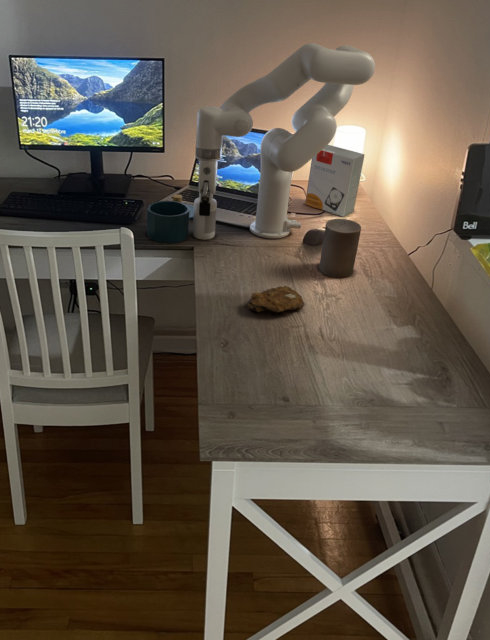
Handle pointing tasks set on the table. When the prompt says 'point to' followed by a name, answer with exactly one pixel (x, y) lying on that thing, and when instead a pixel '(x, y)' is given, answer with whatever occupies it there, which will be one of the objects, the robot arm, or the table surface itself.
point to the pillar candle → (339, 247)
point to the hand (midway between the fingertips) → (205, 210)
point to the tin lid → (179, 199)
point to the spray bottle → (204, 220)
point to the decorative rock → (276, 300)
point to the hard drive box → (334, 180)
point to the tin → (168, 221)
